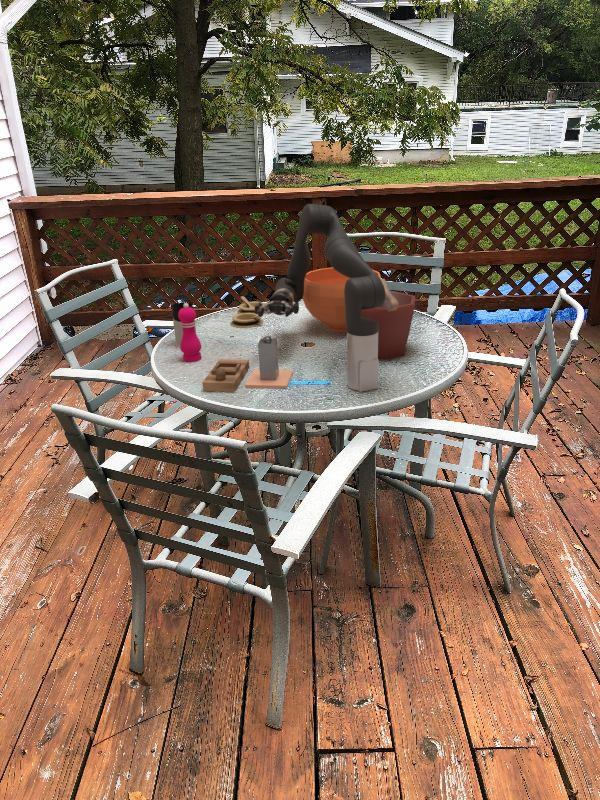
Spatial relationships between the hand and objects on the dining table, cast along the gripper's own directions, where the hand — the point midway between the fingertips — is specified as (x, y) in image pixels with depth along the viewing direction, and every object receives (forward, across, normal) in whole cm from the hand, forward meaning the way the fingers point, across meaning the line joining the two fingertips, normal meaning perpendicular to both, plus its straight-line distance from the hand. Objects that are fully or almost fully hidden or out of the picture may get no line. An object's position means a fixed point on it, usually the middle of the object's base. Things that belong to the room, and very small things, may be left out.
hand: (273, 313), depth 201 cm
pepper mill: (-8, -31, +18) cm, 37 cm away
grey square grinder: (+10, 0, +18) cm, 21 cm away
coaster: (+10, 0, +19) cm, 21 cm away
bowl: (-44, +18, +18) cm, 51 cm away
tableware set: (-57, -22, +18) cm, 64 cm away
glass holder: (-21, -37, +18) cm, 46 cm away
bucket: (-17, +34, +19) cm, 42 cm away
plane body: (+10, -14, +18) cm, 25 cm away
